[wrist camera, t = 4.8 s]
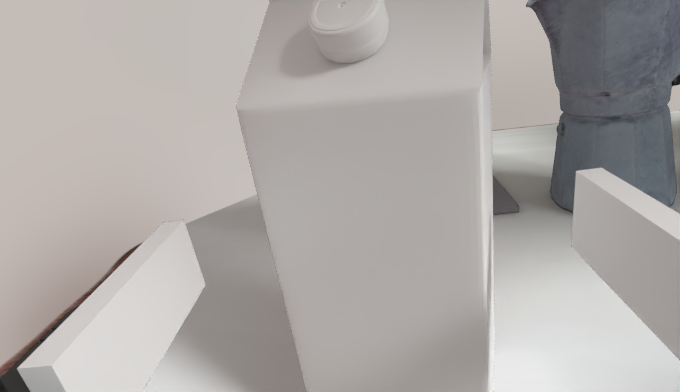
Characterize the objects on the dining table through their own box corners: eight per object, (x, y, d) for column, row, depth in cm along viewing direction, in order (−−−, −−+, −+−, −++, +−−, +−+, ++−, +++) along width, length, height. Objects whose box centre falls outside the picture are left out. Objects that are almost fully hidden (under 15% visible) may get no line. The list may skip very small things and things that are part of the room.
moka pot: (497, 195, 39) (495, -44, 31) (642, 163, 40) (674, -71, 33) (566, 240, 30) (586, -77, 22) (748, 197, 32) (824, -113, 24)
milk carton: (365, 335, 24) (307, -26, 17) (494, 352, 21) (489, -67, 14) (318, 447, 18) (196, -41, 11) (490, 491, 15) (477, -118, 8)
